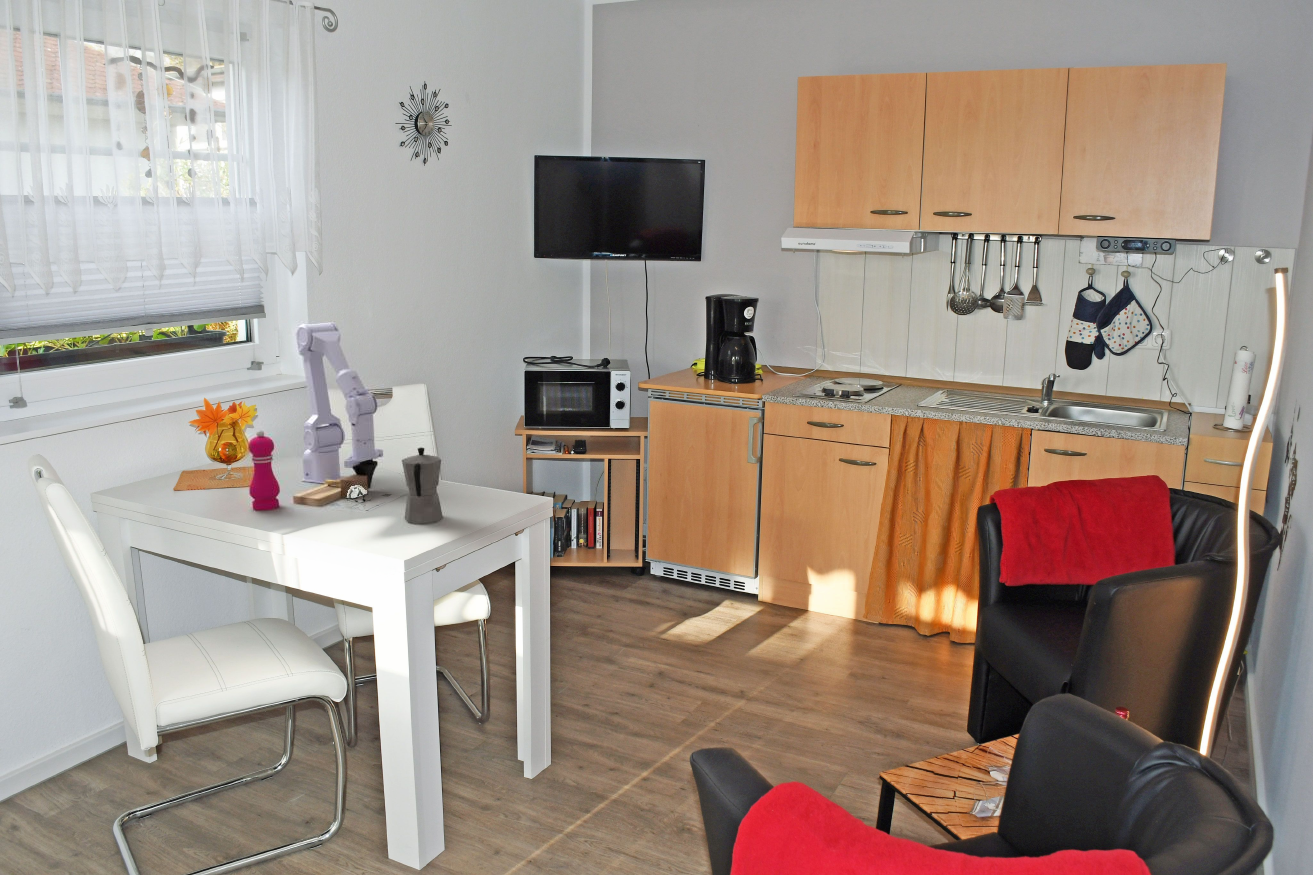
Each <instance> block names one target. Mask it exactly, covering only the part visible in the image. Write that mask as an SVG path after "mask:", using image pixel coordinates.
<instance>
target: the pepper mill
mask: <svg viewBox="0 0 1313 875" xmlns="http://www.w3.org/2000/svg"><path fill="white" fill-rule="evenodd" d="M274 450H275V444H274V441H273V440H272V438H271V437H269V436H265V432H264V430H262V429H261V430H260V429H259V430H257V431H256V436H255V437H252V438H251V439H250V441H249V443H248V451H249V453H250V454H251V462H252V463H253V476H252V479H251V481H250V484H249V487H248V488H249V489H248V490H249V492H248V493H249V496H250V497H251V498H252V499H253V500H252V503H251V504H252V505H251V506H252V509H253V510H254V511H260V512H261V511H264V512H265V511H272V510H275V509H277V508H279V507H280V502H279V501H280V499H278V496H279V495H280V492H281V489H280V484H279V482H278V479H277V478H276V476H275V474H274V471H273V467H272V466H273V465H272V462H273V460H274V459H273V457H274V455H273V454H272V453H273V451H274Z"/></svg>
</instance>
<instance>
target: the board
mask: <svg viewBox="0 0 1313 875" xmlns="http://www.w3.org/2000/svg"><path fill="white" fill-rule="evenodd" d="M343 478H346V477H343ZM343 478H340V479H343ZM340 479H337V480H338V481H340ZM339 499H342V498H341V486H338V485H330V486H328V484H322V485H319V486H316V487H314V488H310V489H307V490H306V491H302V492H299V493H297V494H294V495H292V500H293V501H292V502H293V504H297V505H307V506H314V507H321V506H323V505H327V504H329V503H331V502H333V501H336V500H339Z"/></svg>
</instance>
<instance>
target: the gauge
mask: <svg viewBox="0 0 1313 875" xmlns="http://www.w3.org/2000/svg"><path fill="white" fill-rule="evenodd" d="M324 483H325V484H328V486H330V485H338V486H341V498H340V499H345V498H344V497H347V493H348V490H349V489H350V487H351V486H355V485H360V486H362V487H363V488H364V489H365V490H367V491H368V492H369V489H368V484H367V476H366V475H357V474H356V473H354V474H351V475H349V476H348V475H347V477H346V478H343V479H340V481H338V480H329V479H327V480H324ZM342 497H343V498H342Z"/></svg>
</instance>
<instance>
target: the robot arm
mask: <svg viewBox="0 0 1313 875" xmlns="http://www.w3.org/2000/svg"><path fill="white" fill-rule="evenodd" d="M295 337H296V346H297V350H298V355H300V356H301V358H302V366H303V370H304V376H305V381H306V389H307V394H308V399H309V406H310V412H311V413H310V414H311V415H310V418H309V419H307V420H306V422H304V424H303V428H304V430H303V431H304V432H303V442H304V445H305V446H306V448H307V449H306V450H305V451H304V453H303V454H302V455H303V456H302V466H303V467H302V468H303V469H302V470H303V478H302V480H301V481H302V482H308V483H316V484H322V485H324V484H325V483H324V480H327V479H329V480H337V479H340V478H343V477H348V475H341V467H340V465H341V464H340V450H339V449H342V445H343V444H344V442H345V438H346V433H345V430H344V428H343V426H342V423H341V419H340V418H339V417H337V416H335V415H334V414H333V413H332V409H331V404H330V397H329V390H328V384H327V378H326V373H325V367H324V366H325V365H324V361H323V357H326V359H327V360H328V362H329V364H330V365H331V366H332V368H333V370H334V372H335V373H336V375H337V377H336V378H335V379H336V384H337V385H338V387H339V389H340V392H341V393H342V395H343V397H344V399H345V400H346V402H345V404H344V405H345V406H344V408H345V411H346V414H347V416H348V421H349V423H350V427H351V428H350V429H351V442H352V443H351V447H352V455H350V456H349V457H348V458H347V459H344V460H343V464H344V468H345V469H346V468H347V469H352V470H353V472H354V474H357V475H366V476H367V484H368V490H369V489H371V486H372V481H373V476H374V472H375V471H376V468H377V466H378V461H377V460H376V459H379V458H382V457H384V450H383V449H382V448H381V449H379V448H375V447H376V445H375V426H374V414H376V413H377V410H378V402H377V398H376V395H375V394H373V393H372V392H370V390H368V389H366V388H365V386H364V384H363V383H362V380H361V379H360V376H359V375H358V373H357V371H356V370H353V369H351V368H350V366H349V363H348V361H347V359H346V357H345V354H344V352H343V349H342V347H341V345H340V343H341V332H340V330H339V327H338V326H337V325H336V323H335V322H333V321H329V322H321V323H309V324H306V323H302V324H300V325H299V327H298V328H297V330H296V333H295ZM322 425H323V426H322Z"/></svg>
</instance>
